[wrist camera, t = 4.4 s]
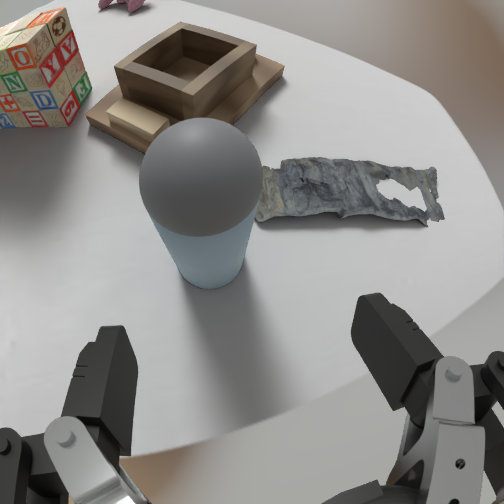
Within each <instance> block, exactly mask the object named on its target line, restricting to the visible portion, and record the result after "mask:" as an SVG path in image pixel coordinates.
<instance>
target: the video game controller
mask: <svg viewBox="0 0 504 504" xmlns="http://www.w3.org/2000/svg"><path fill="white" fill-rule="evenodd" d="M112 1H113V0H100V1H99V8H100V9H104V8H106V7H107V6H108V5H109V4H110V3H111V2H112ZM127 1H128V3H129V4H128V11H129V12H134V11H136V10H137V9H138V8H139V7H140V6H141V5H142V4H143V3H144V1H145V0H117V2H118V3H125V2H127Z"/></svg>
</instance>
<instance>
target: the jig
mask: <svg viewBox="0 0 504 504" xmlns="http://www.w3.org/2000/svg"><path fill="white" fill-rule="evenodd" d="M256 46H257V45H256V44H253V43H250V42H247V41H244V40H242V39H239V38H236V37H233V36H230V35H226V34H223V33H220V32H217V31H213V30H210V29H206V28H203V27H199V26H195V25H191V24H187V23H183V22H179V23H177V24H176V25H174V26H172V27H171V28H169V29H167V30H166V31H164V32H162V33H161V34H159V35H158V36H156V37H154V38H153V39H151V40H150V41H148V42H147V43H145V44H144V45H142V46H141V47H139V48H138V49H137V50H135V51H134V52H132V53H131V54H129V55H128V56H127V57H125V58H124V59H123V60H121V61H120V62H119V63H117V64H116V65H115V66H114V68H115V72H116V75H117V79H118V82H119V85H117V86H116V87H115V88H114V89H113V90H112V91H110V92H109V93H108V94H107V95H106V96H105V97H104V98H102V99H101V100H100V101H99V102H98V103H97V104H96V105H95V106H94V107H93V108H92V109H91V110H89V111H88V112H87V113H86V114H85V115H86V117H87V119H88V121H89V123H90V124H91V125H93V126H95V127H97V128H98V129H100V130H102V131H104V132H106V133H108V134H110V135H111V136H113V137H115V138H117V139H119V140H121V141H122V142H124V143H126V144H128V145H130V146H132V147H133V148H135V149H137V150H139V151H141V152H142V153H144V154H145V153H146V151H147V149H148V148H149V146H150V145H151V143H152V142H153V141H154V140H155V139H156V137H157V136H158V135H159V134H161V133H162V132H163V131H164V130H166V129H167V128H168V127H170V126H172V125H174V124H176V123H178V122H181V121H184V120H187V119H192V118H212V119H217V120H221V121H224V122H226V123H229V124H230V125H233V124H234V123H235V122H236V121H237V120H238V119H239V118H240V117H241V116H242V115H243V114H244V113H245V112H246V111H247V110H248V108H249V107H250V106H251V105H252V104H253V103H254V102H255V101H256V100H257V99H258V98H259V97H260V96H261V95H262V94H263V93H264V92H265V91H267V90H268V89H269V88H270V87H271V86H272V85H273V84H274V83H275V82H276V81H277V80H278V79H279V78H280V77H281V76H282V74H283V70H284V65H282V64H279V63H277V62H275V61H272V60H270V59H268V58H265V57H263V56H260V55H258V54H255V53H256Z"/></svg>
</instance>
